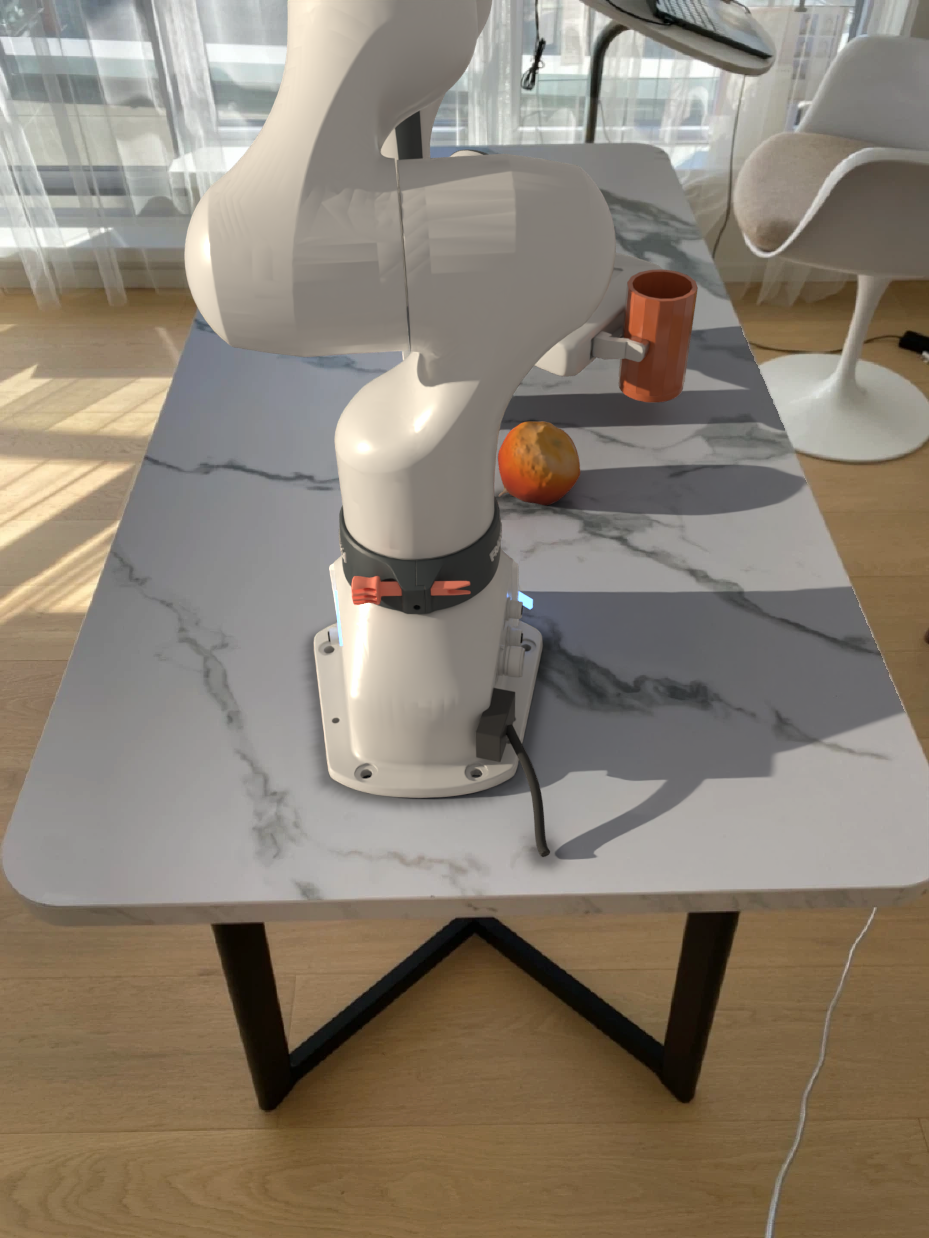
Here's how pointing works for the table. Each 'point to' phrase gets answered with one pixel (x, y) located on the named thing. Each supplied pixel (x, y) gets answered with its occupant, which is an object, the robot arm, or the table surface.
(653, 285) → the cup
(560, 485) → the fruit
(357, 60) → the robot arm
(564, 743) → the table surface
